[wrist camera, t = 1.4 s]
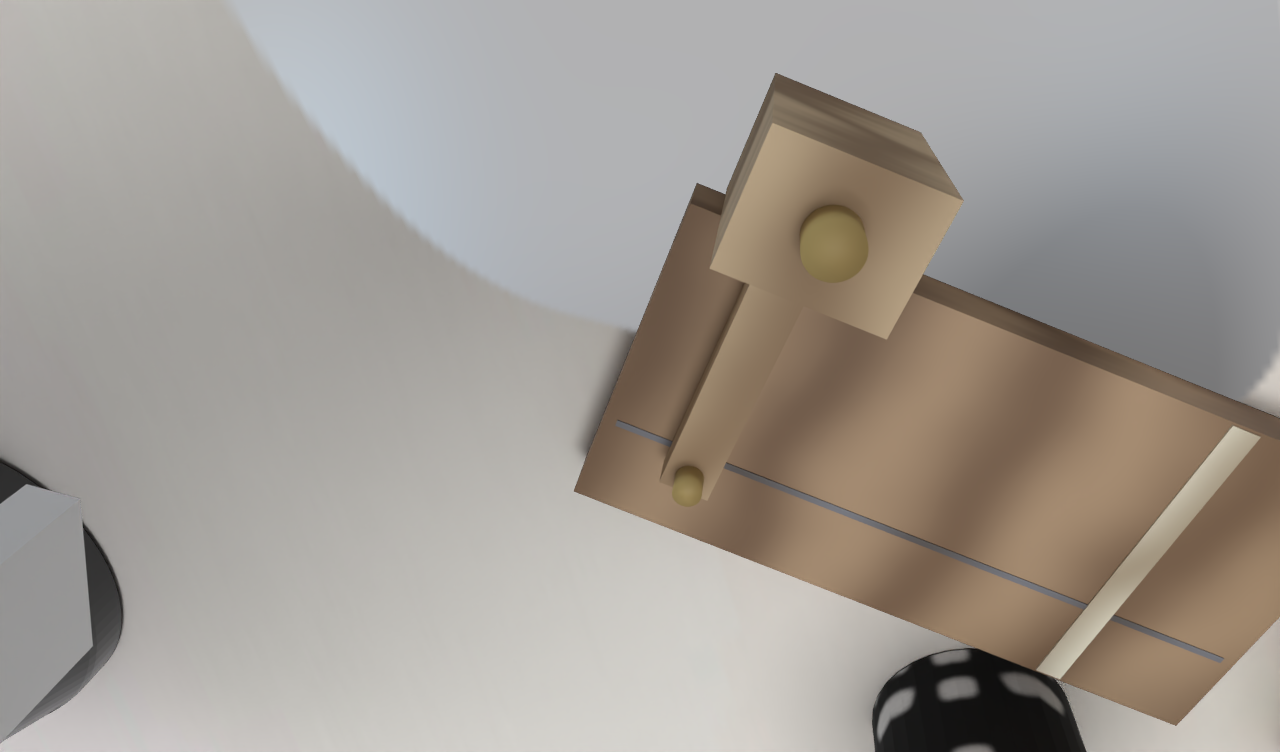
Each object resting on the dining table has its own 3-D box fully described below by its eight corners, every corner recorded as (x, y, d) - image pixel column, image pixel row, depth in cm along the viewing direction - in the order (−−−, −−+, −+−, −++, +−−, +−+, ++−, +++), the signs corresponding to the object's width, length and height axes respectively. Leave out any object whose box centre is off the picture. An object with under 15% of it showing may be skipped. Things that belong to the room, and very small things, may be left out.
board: (586, 456, 37) (573, 492, 35) (696, 182, 31) (690, 203, 29) (1153, 678, 38) (1176, 727, 35) (1358, 450, 32) (1402, 490, 30)
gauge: (632, 411, 35) (586, 560, 27) (775, 73, 29) (771, 133, 21) (753, 458, 35) (743, 620, 27) (920, 132, 29) (972, 215, 21)
